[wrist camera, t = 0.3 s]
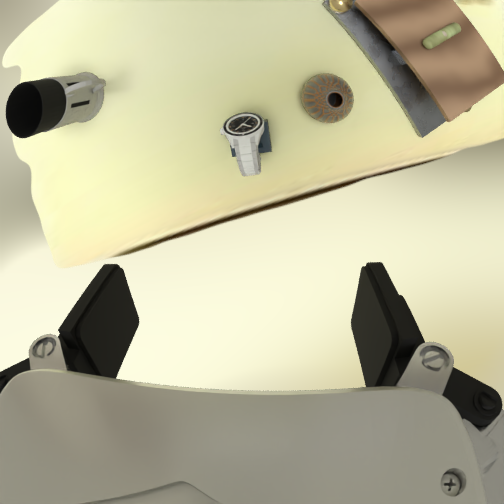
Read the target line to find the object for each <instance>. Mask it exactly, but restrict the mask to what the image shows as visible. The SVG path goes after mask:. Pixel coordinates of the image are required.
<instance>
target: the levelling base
mask: <svg viewBox="0 0 504 504" xmlns="http://www.w3.org/2000/svg"><path fill="white" fill-rule="evenodd" d="M355 1H356V0H326V1H325V2H324V3H323V6H324V7H325V8H326V9H327V10H328V11H329V12H330V13H331V14H332V15H333V16H334V18H335V19H336V20H337V21H338V22H339V23H340V24H341V26H342V27H343V28H344V29H345V30H346V31H347V33H348V34H349V35H350V36H351V38H352V39H353V40H354V41H355V42H356V44H357V45H358V46H359V47H360V49H361V50H362V51H363V53H364V54H365V55H366V57H367V58H368V59H369V61H370V62H371V63H372V65H373V66H374V67H375V69H376V70H377V72H378V73H379V74H380V76H381V77H382V79H383V80H384V82H385V83H386V84H387V86H388V87H389V89H390V90H391V92H392V93H393V95H394V96H395V98H396V100H397V101H398V103H399V104H400V106H401V108H402V109H403V111H404V112H405V114H406V116H407V117H408V119H409V121H410V122H411V124H412V126H413V128H414V129H415V131H416V133H417V135H418V136H419V137H422V138H423V137H424V136H426V135H427V134H429V133H430V132H431V131H433V130H434V129H436V128H437V127H438V126H440V125H441V124H443V123H444V122H445V121H446V119H445V118H444V116H443V115H442V113H441V111H440V110H439V108H438V107H437V105H436V104H435V102H434V101H433V99H432V98H431V96H430V95H429V93H428V92H427V90H426V89H425V87H424V86H423V84H422V83H421V82H420V80H419V79H418V78H417V76H416V75H415V73H414V72H413V71H412V69H411V68H410V67H409V66H408V64H407V63H406V62H405V60H404V59H403V58H402V57H401V55H400V54H399V53H398V52H397V50H396V49H395V48H394V47H393V46H392V44H391V43H390V42H389V41H388V40H387V39H386V37H385V36H384V35H383V34H382V33H381V32H380V31H379V30H378V28H377V27H376V26H375V25H374V24H373V23H372V22H371V21H370V20H369V19H368V18H367V17H366V16H365V15H364V14H363V13H362V12H361V11H360V10H359V9H358V8H357V7H356V6H355V5H354V3H355ZM471 107H472V106H471ZM471 107H470V108H469V109H467V110H466V111H464V112H468V111H470V109H471Z"/></svg>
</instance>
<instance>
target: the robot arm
mask: <svg viewBox="0 0 504 504" xmlns="http://www.w3.org/2000/svg"><path fill="white" fill-rule="evenodd" d="M138 325H139V317H138V314H137V311H136V308H135V305H134V302H133V299H132V296H131V293H130V290H129V286H128V284H127V280H126V277H125V273H124V270H123V269H122V268H120V266H119V265H117V264H105V265H103V267H102V268H101V269H100V271H99V272H98V273H97V275H96V276H95V278H94V279H93V280H92V281H91V283H90V284H89V286H88V287H87V288H86V290H85V291H84V293H83V294H82V295H81V297H80V298H79V300H78V301H77V303H76V304H75V305H74V307H73V308H72V310H71V311H70V313H69V314H68V316H67V317H66V319H65V320H64V322H63V323H62V325H61V326H60V328H59V329H58V331H59V333H60V334H59V336H58V337H57V336H56V335H52V334H47V335H43V336H41V337H39V338H37V339H36V340H35V341H34V342H33V343H32V345H31V346H30V349H29V358H27V359H25V360H24V361H21V362H19V363H17V364H15V365H13V366H11V367H10V368H7V369H5V370H3V371H1V372H0V504H504V410H503V409H502V400H501V397H500V395H499V394H498V392H497V391H496V390H494V389H493V388H491V387H490V386H488V385H486V384H484V383H482V382H480V381H478V380H476V379H475V378H473V377H471V376H469V375H467V374H465V373H463V372H462V371H460V370H458V369H456V368H454V367H453V364H454V359H453V356H452V354H451V352H450V351H449V350H448V349H447V348H446V347H445V346H443V345H441V344H439V343H436V342H426V343H425V341H424V339H423V336H422V334H421V332H420V330H419V328H418V326H417V323H416V321H415V319H414V317H413V315H412V313H411V311H410V309H409V307H408V305H407V303H406V301H405V299H404V297H403V296H402V295H399V294H398V292H397V290H396V288H395V286H394V285H393V283H392V281H391V279H390V277H389V275H388V273H387V271H386V269H385V267H384V265H383V264H382V263H381V262H374V263H373V262H372V263H371V262H370V263H367V264H366V266H365V267H364V266H363V267H362V268H361V273H360V278H359V284H358V290H357V294H356V299H355V305H354V309H353V314H352V319H351V327H352V331H353V335H354V339H355V343H356V347H357V351H358V355H359V359H360V363H361V367H362V372H363V376H364V380H365V385H366V387H362V388H348V389H331V390H305V391H243V390H219V389H202V388H189V387H178V386H168V385H159V384H150V383H142V382H134V381H127V380H120V379H116V377H117V374H118V372H119V369H120V367H121V365H122V362H123V360H124V357H125V355H126V353H127V351H128V348H129V346H130V344H131V341H132V339H133V337H134V334H135V332H136V330H137V328H138Z"/></svg>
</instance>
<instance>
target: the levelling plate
mask: <svg viewBox="0 0 504 504" xmlns="http://www.w3.org/2000/svg"><path fill="white" fill-rule="evenodd" d="M354 5H355V6H356V7H357V8H358V9H359V10H360V11H361V12H362V13H363V14H364V15H365V16H366V17H367V18H368V19H369V20H370V21H371V22H372V23H373V24H374V25H375V26H376V27H377V28H378V30H379V31H380V32H381V33H382V34H383V35H384V36H385V37H386V39H387V40H388V41H389V42H390V43H391V44H392V46H393V47H394V48H395V49H396V50H397V52H398V53H399V54H400V55H401V57H402V58H403V59H404V60H405V62H406V63H407V64H408V66H409V67H410V68H411V69H412V71H413V72H414V73H415V75H416V76H417V78H418V79H419V80H420V82H421V83H422V84H423V86H424V87H425V89H426V90H427V92H428V93H429V95H430V96H431V98H432V99H433V101H434V102H435V104H436V105H437V107H438V108H439V110H440V111H441V113H442V115H443V116H444V118H445V119H446V121H447V122H451V121H452V120H453V119H455V118H456V117H457V116H459V115H460V114H462V113H463V112H464V111H466V110H467V109H469V108H470V107H471V106H473V105H474V104H475V103H477V102H478V101H480V100H481V99H482V98H484V97H485V96H487V95H488V94H489V93H491V92H492V91H493V90H495V89H496V88H498V87H499V86H500V85H502V84H503V83H504V71H503V69H502V68H501V66H500V64H499V63H498V61H497V60H496V58H495V56H494V55H493V53H492V52H491V50H490V49H489V47H488V46H487V44H486V43H485V41H484V40H483V38H482V37H481V36H480V34H479V33H478V31H477V30H476V29H475V27H474V26H473V25H472V23H471V22H470V21H469V19H468V18H467V17H466V16H465V14H464V13H463V12H462V11H461V9H460V8H459V7H458V6H457V5H456V3H455V2H454V1H453V0H356V1H355V3H354Z"/></svg>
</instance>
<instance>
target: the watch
mask: <svg viewBox="0 0 504 504" xmlns="http://www.w3.org/2000/svg"><path fill="white" fill-rule="evenodd" d="M220 132H221V135H223V134H225V136H226V138H227V139H228V141H229V143H230V147H231V152H232V157H235V156H236V157H237V162H238V165H239V169H240V172H241V174H242V175H243V176H249V175H256V174H260V172H261V163H260V160H261V157H260V153H265V152H272V149H271V141H270V134H269V127H268V120H263V118H262V117H261V116H260V115H258V114H256V113H249V112H246V113H239V114H236V115H234V116H232V117H230V118H229V119H227V120H226V121H225V123H224V124H223V128H222V129H220Z"/></svg>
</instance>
